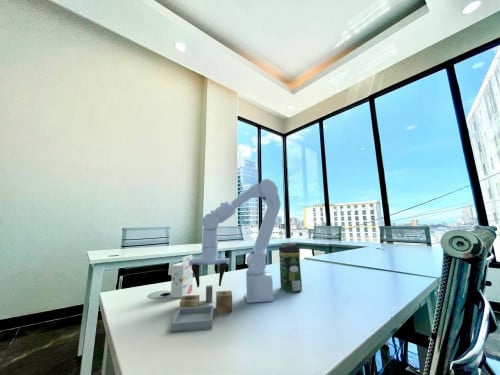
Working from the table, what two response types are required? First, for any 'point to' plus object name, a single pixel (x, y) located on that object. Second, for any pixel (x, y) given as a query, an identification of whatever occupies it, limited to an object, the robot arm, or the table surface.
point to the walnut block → (223, 302)
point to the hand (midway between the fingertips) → (209, 285)
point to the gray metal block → (209, 293)
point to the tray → (193, 319)
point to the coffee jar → (290, 267)
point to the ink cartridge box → (181, 278)
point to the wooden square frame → (189, 301)
